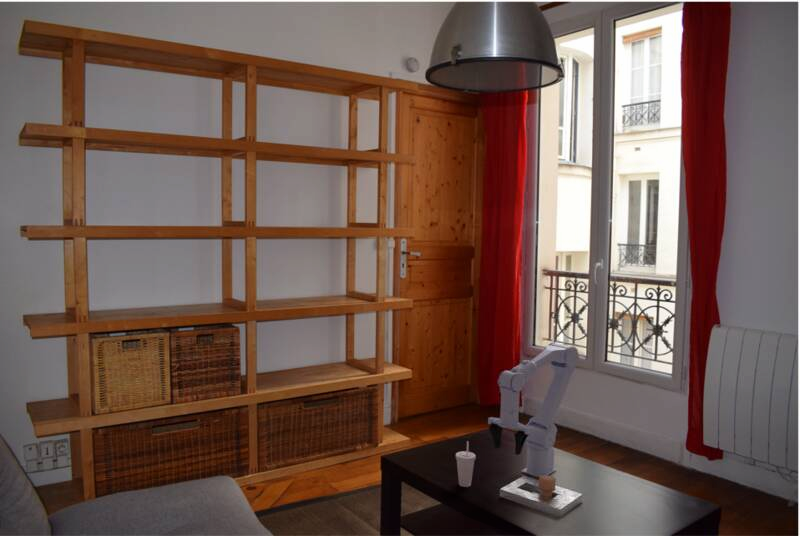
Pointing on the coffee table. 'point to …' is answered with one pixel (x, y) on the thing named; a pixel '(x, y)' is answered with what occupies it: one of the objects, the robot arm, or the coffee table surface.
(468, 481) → the smoothie
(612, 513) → the coffee table surface
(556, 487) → the keyhole plate
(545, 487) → the peg
